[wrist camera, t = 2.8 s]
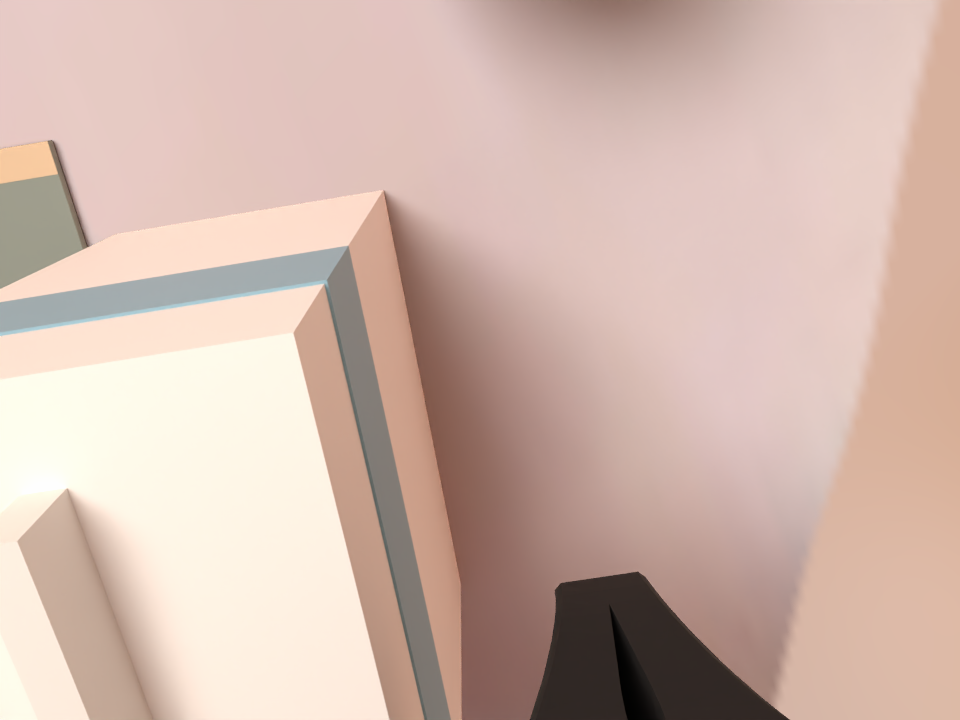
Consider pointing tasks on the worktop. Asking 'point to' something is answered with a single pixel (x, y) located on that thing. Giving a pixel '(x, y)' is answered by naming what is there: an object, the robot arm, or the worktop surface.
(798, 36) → the worktop surface
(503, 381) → the worktop surface
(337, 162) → the worktop surface
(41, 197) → the display mat
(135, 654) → the milk carton
